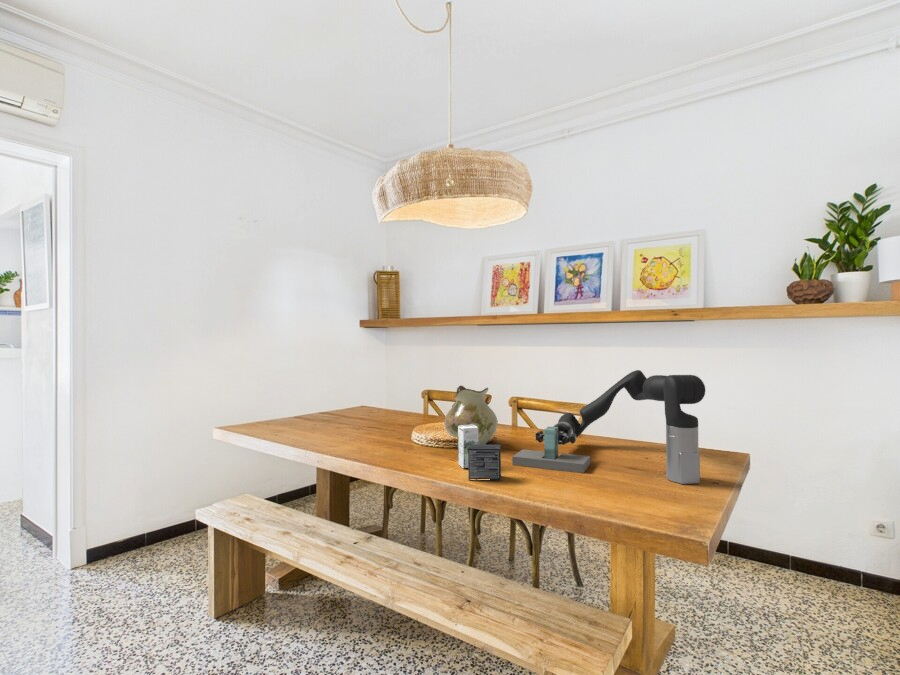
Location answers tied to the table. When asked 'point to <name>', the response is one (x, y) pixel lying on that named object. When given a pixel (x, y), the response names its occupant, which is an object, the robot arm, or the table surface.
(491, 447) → the small box
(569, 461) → the slotted block
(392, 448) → the table surface
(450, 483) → the table surface
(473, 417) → the pitcher
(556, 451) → the mint green pillar
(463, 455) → the syrup box
